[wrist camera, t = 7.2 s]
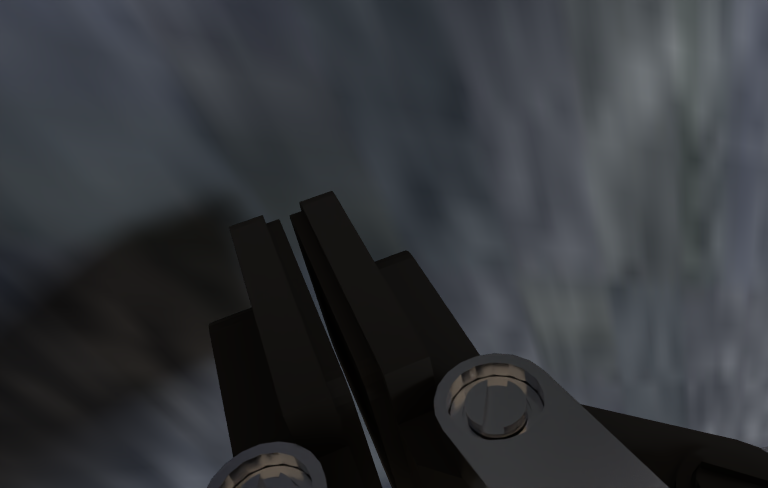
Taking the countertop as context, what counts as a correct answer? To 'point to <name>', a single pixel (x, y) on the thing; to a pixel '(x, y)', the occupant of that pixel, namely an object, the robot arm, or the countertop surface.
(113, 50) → the countertop surface
